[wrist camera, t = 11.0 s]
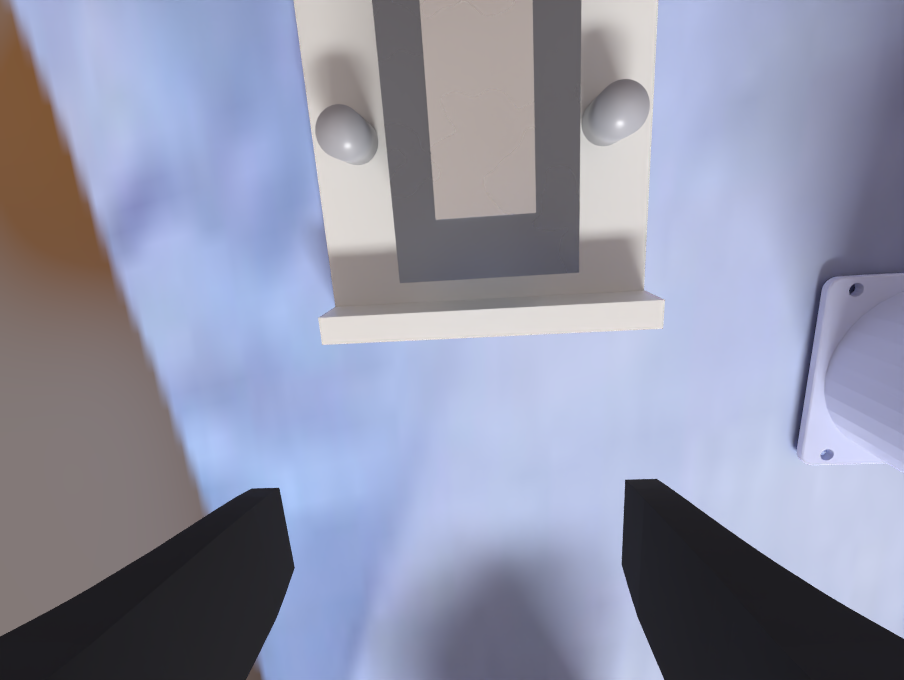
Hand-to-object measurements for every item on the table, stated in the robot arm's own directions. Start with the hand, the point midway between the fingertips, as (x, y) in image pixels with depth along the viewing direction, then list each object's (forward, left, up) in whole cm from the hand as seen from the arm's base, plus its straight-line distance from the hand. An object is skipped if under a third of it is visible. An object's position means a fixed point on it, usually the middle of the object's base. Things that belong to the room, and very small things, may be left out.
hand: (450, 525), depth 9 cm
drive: (-1, -9, -9) cm, 13 cm away
